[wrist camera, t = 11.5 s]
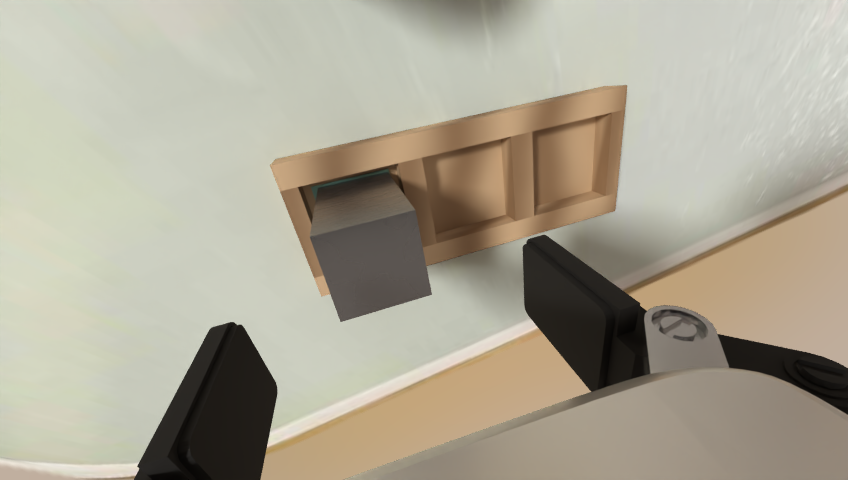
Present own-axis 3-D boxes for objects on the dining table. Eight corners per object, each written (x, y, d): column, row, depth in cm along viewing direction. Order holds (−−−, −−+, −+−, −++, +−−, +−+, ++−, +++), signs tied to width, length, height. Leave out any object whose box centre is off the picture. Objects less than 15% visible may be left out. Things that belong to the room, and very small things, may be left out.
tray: (604, 86, 23) (629, 85, 21) (596, 203, 27) (617, 211, 25) (275, 159, 19) (269, 166, 17) (322, 281, 23) (321, 298, 21)
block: (387, 171, 21) (415, 209, 14) (401, 233, 23) (431, 294, 16) (317, 187, 20) (309, 237, 13) (338, 250, 22) (340, 321, 15)
